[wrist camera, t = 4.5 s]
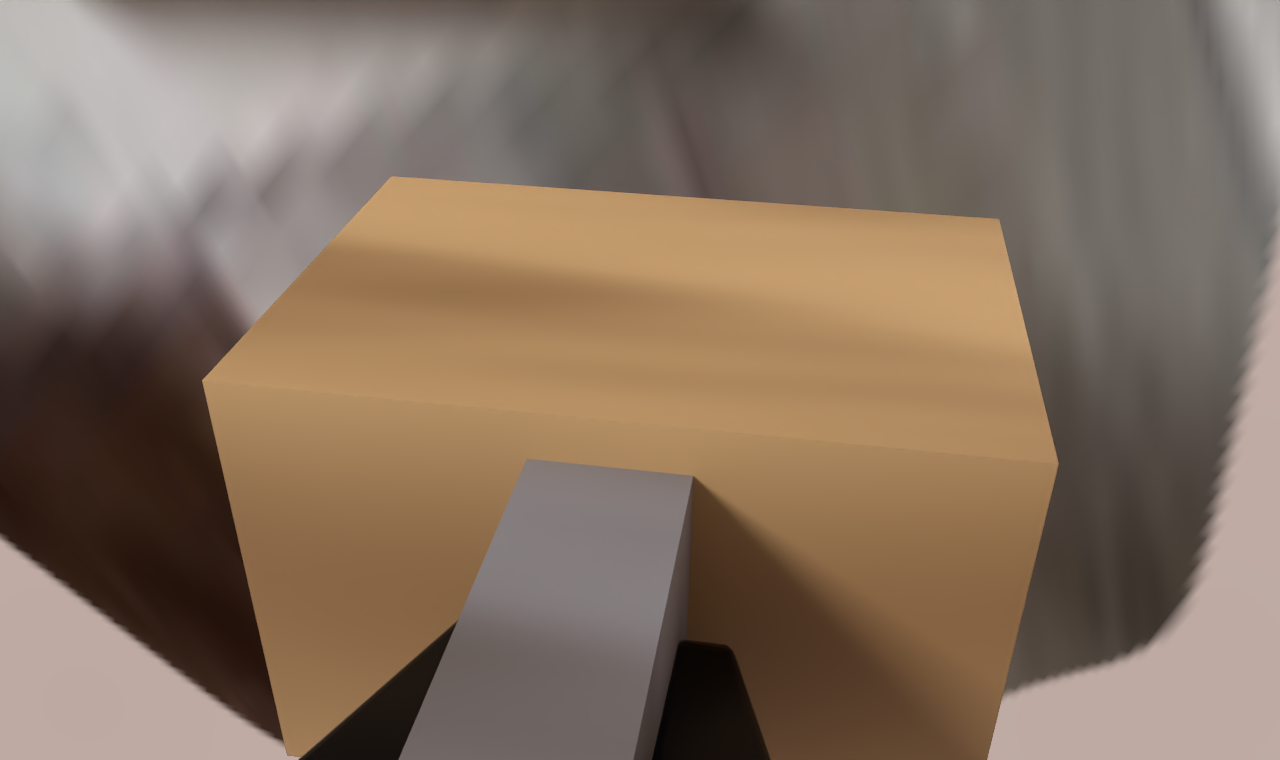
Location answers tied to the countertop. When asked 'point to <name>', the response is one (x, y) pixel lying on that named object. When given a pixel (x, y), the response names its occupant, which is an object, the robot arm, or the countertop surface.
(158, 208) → the countertop surface
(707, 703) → the robot arm
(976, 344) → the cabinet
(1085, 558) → the countertop surface
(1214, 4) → the countertop surface
